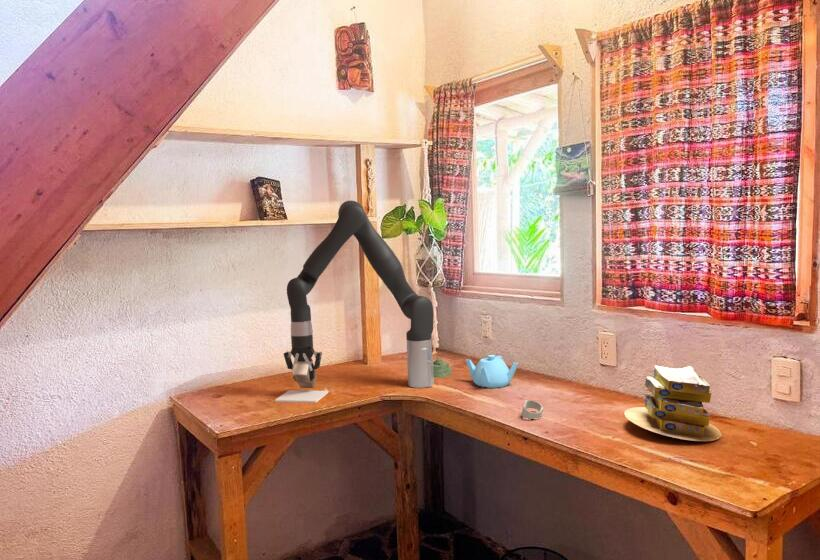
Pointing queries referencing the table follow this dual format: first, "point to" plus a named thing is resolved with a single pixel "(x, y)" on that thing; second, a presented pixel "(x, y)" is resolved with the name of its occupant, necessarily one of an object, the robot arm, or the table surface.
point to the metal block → (303, 375)
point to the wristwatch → (531, 405)
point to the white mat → (301, 396)
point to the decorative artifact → (441, 368)
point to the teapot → (491, 372)
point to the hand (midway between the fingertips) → (304, 380)
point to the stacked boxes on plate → (676, 405)
